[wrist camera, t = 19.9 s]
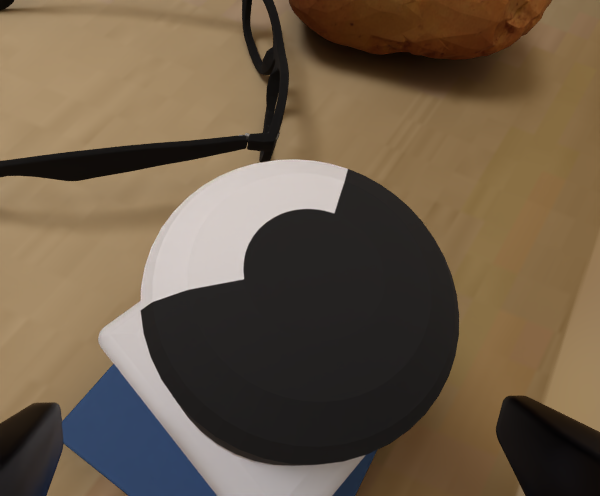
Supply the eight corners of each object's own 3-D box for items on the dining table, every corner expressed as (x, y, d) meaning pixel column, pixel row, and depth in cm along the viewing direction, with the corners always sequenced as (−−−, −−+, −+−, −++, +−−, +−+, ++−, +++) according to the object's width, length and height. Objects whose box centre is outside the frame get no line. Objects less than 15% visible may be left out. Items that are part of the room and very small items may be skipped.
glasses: (289, 216, 24) (309, 159, 19) (-87, 222, 19) (-170, 149, 15) (260, 24, 31) (269, -48, 27) (-18, -3, 27) (-60, -95, 22)
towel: (424, 346, 20) (429, 342, 20) (289, 621, 15) (291, 627, 14) (241, 225, 22) (242, 219, 21) (56, 434, 16) (50, 433, 16)
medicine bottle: (376, 391, 18) (576, 289, 8) (254, 529, 15) (317, 658, 5) (267, 277, 20) (314, 70, 10) (138, 382, 17) (1, 245, 7)
